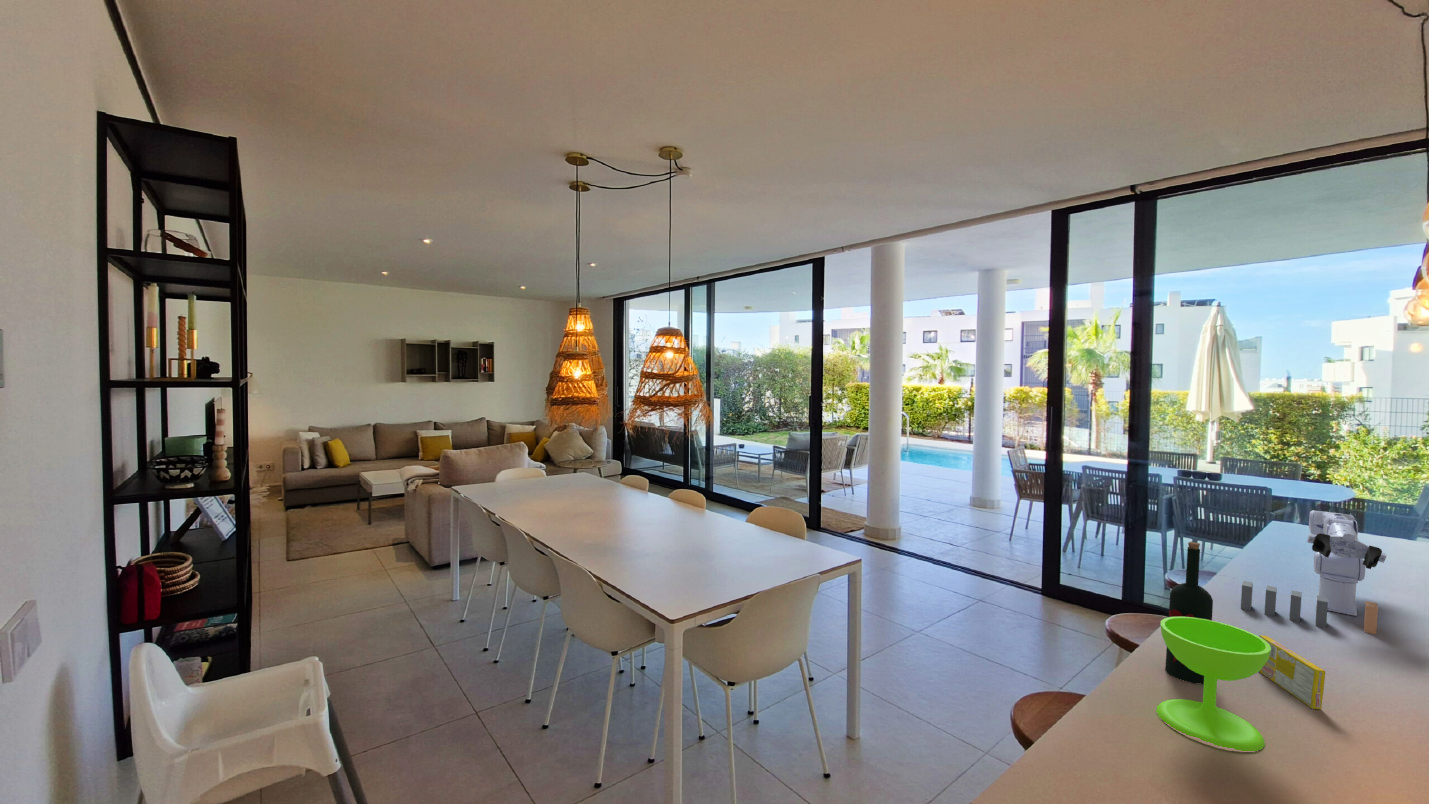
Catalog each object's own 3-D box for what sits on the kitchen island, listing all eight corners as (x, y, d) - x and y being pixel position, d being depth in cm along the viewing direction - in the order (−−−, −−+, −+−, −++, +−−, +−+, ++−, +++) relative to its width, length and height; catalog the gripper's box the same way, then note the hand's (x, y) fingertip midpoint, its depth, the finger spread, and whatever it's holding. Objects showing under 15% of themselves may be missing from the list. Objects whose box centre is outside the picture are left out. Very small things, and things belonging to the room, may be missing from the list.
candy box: (1324, 710, 117) (1326, 670, 117) (1311, 709, 118) (1314, 669, 117) (1265, 670, 133) (1267, 634, 133) (1254, 669, 134) (1256, 633, 133)
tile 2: (1315, 620, 160) (1317, 595, 160) (1326, 622, 159) (1327, 597, 158) (1315, 625, 157) (1317, 600, 156) (1326, 627, 155) (1327, 602, 155)
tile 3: (1290, 614, 164) (1291, 590, 163) (1300, 616, 162) (1301, 592, 162) (1289, 619, 160) (1291, 594, 160) (1299, 622, 159) (1301, 596, 159)
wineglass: (1290, 753, 104) (1297, 655, 103) (1199, 752, 104) (1205, 653, 103) (1214, 702, 120) (1219, 616, 119) (1136, 701, 120) (1140, 615, 119)
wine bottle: (1155, 674, 130) (1161, 543, 129) (1172, 662, 136) (1178, 535, 134) (1199, 691, 124) (1206, 552, 122) (1215, 677, 130) (1222, 544, 128)
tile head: (1363, 626, 156) (1365, 600, 156) (1374, 628, 155) (1376, 603, 155) (1364, 632, 153) (1366, 605, 153) (1376, 634, 152) (1378, 608, 151)
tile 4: (1265, 609, 167) (1267, 585, 167) (1275, 611, 166) (1276, 587, 166) (1264, 614, 164) (1265, 589, 164) (1274, 616, 163) (1275, 591, 162)
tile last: (1242, 603, 171) (1243, 580, 171) (1251, 606, 170) (1252, 582, 169) (1240, 608, 168) (1242, 584, 167) (1250, 610, 166) (1251, 586, 166)
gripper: (1311, 518, 166) (1315, 535, 156) (1387, 537, 156) (1395, 556, 147) (1303, 540, 168) (1306, 558, 158) (1377, 560, 158) (1385, 580, 149)
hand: (1348, 559), depth 152 cm, fingers open, 7 cm apart
